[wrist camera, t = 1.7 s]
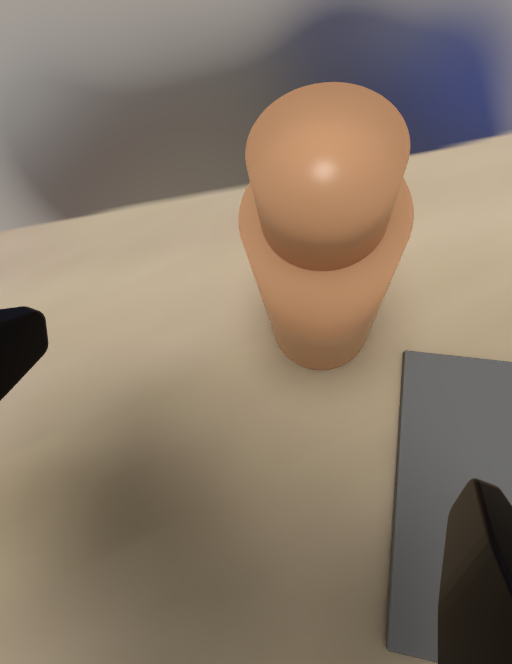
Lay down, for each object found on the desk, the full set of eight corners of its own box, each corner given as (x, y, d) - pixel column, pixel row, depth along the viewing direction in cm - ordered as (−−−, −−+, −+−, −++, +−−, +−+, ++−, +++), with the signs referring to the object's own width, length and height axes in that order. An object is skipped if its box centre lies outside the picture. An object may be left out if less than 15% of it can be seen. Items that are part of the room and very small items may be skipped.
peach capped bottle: (363, 375, 20) (436, 254, 8) (268, 363, 20) (200, 237, 9) (371, 285, 21) (444, 59, 9) (280, 277, 22) (236, 61, 10)
